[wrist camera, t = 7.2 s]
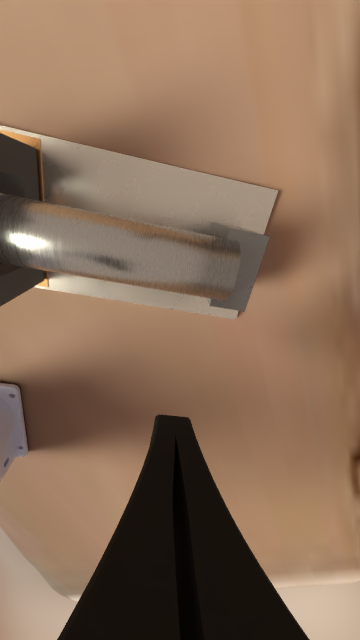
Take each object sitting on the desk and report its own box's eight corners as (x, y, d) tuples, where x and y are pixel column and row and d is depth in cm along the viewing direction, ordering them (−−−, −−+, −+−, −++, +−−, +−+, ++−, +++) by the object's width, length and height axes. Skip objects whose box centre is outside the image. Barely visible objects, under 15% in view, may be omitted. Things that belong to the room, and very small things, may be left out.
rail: (275, 190, 15) (365, 177, 8) (234, 317, 18) (271, 380, 12) (-118, 98, 12) (-480, -38, 5) (-71, 268, 16) (-248, 312, 9)
